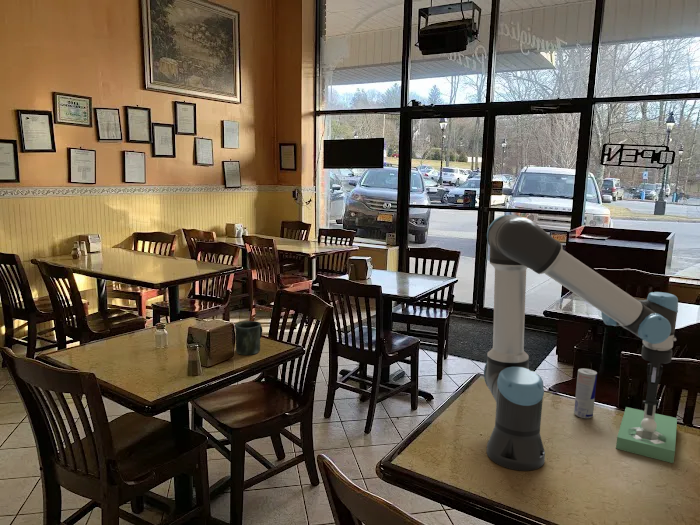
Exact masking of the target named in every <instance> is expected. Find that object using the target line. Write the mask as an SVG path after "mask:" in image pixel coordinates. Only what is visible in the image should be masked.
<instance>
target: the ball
mask: <svg viewBox="0 0 700 525" xmlns="http://www.w3.org/2000/svg"><path fill="white" fill-rule="evenodd" d="M641 427H642V428H643V430H645V431H646V432H653V431H655V430H656V428H657V424H656V422H655V421H654V420H653V419H651V418H645V419H643V420H642V421H641Z"/></svg>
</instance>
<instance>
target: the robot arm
mask: <svg viewBox="0 0 700 525" xmlns="http://www.w3.org/2000/svg"><path fill="white" fill-rule="evenodd" d="M486 240H487V243H488V246H489V264H490V265H491V266H492V267H493V268H494V288H493V289H494V290H493V292H494V294H493V330H492V331H493V332H492V334H493V335H492V348H491V349H490V350H489V351H487V353H486V354H487V356H486V357H487V358H486V363H485V365H484V368H483V379H484V382H485V385H486V387H487V388H488V390H489V391H490V393H491V395H492V397H493V399H494V400H495V404H496V405H495V406H496V408H495V421H494V422H495V423H494V428H493V430H491V431H492V432H491V435H490V436H489V439H488V440H487V443H486V454H487V457H488V458H489V459H490V460H491V461H492V462H494V463H495V464H497V465H499V466H501V467H504V468H506V469H510V470H514V471H527V472H528V471H533V470H534V471H535V470H537V469H539V468H541V467H543V466H544V464H545V459H546V452H545V448H544V444H543V441H542V436H541V423H542V411H543V400H544V395H545V387H544V381H543V379H542V376H540V375H539V374H538V373H537V372H535V371H534V370H531V369H529V367H530V366H529V363H530V362H529V361H530V360H529V359H530V358H529V357H530V355H529V354H528V353H527V352H526V351H525V350H524V346H525V322H526V321H525V319H526V318H525V317H526V316H525V314H526V289H527V270H528V269H529V270H532V271H533V272H535V273H536V274H537V275H542V274H545V275H546V276H548V277H549V278H551V279H552V280H553V281H555V282H557V284H559V285H561V286H562V287H564V288H566V289H567V290H569V291H570V292H571V293H573V294H575V295H576V296H577V297H579V298H580V299H582V300H583V301H585V302H586V303H588V304H589V305H590V306H592V307H594V308H595V309H596V310H599V311H600V312H601V313H600V314H601V319H602V321H603V323H604V324H605V325H606V326H614V327H619V326H620V327H622V328H623V329H625V330H627V331H629V332H630V333H632V334H633V335H635V336H636V337H638V338H640V339H641V340H642V346H641V354H640V356H641V358H642V359H643V360H645V361H646V362H649V363H647V366H646V373H647V374H646V382H647V389H646V395H645V396H646V397H645V400H644V399H643V401H642V403H643V404H644V410H643V411H644V419H645V418H651V419H653V420H654V418H655V413H656V407H657V404H659V402H660V400H659V399H657V398H658V395H657V394H658V388H659V387H658V385H659V384H660V383H661V377H662V375H663V372H664V370H663V369H664V366H663V364H664V365H665V364H669V363H671V362H672V360H673V359H672V358H673V349H672V348H673V347H674V342H676V341H677V337H675V332H676V326H677V325H676V323H677V318H678V313H679V299H678V297H677V296H676V295H675V294H672V293H669V292H662V291H654V292H653V291H651V292H649V293H648V295H647V297H646V299H637V298H636V297H635V298H634V297H633V296H632V295H630V294H629V293H628V292H626V291H624V290H623V289H621V288H620V287H618V285H616V284H614V283H613V282H611V281H610V280H609V279H607V278H606V277H604V276H603V275H601V274H600V273H598V272H597V271H595V270H594V269H592V268H591V267H589V266H588V265H586V264H585V263H583V262H582V261H580V260H579V259H577V258H576V257H574V256H573V255H572V254H570V253H568V252H567V251H566V250H565V249H564V248H563V244H562V243H561V242H560V241H558V240H556V239H555V238H554V237H552V236H551V235H550V233H548V232H547V231H545V230H544V229H543V228H542V227H541V226H539V225H538V224H537V223H536V222H535V221H533V220H531V219H529V218H527V217H522V216H521V215H519V214H511V213H510V214H503V215H501V216H498V217H497V218H495V219H494V220H493V221H492V222H491V223H490V225H489V226H488V228H487V232H486Z"/></svg>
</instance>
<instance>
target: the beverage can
mask: <svg viewBox="0 0 700 525" xmlns="http://www.w3.org/2000/svg"><path fill="white" fill-rule="evenodd" d="M597 380H598V372H597V371H596V370H593V369H590V368H578V370H577V377H576V388H575V396H574V397H575V399H574V409H573V410H574V411H573V414H575V415H576V417H579V418H581V419H591V418H593V417H594V407H595V399H596V398H595V397H596V389H597V388H596V387H597Z"/></svg>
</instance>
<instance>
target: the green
mask: <svg viewBox="0 0 700 525" xmlns="http://www.w3.org/2000/svg"><path fill="white" fill-rule="evenodd" d="M643 419H644V410H643V409H638V408H632V407H628V406H625V410H624V413H623V416H622V419H621V422H620V426H619V430H618V432H617V437H616V446H615V449H616V450H621V451H625V452H626V453H627V452H628V453H632V454H635V455H640V456H643V457H646V458H647V457H648V458H650V459H651V458H652V459H654V460H655V459H656V460H659V461H663V462H667V463H671V464H674V460H675V453H676V439H677V425H678V424H677V423H678V418H677V417H673V416H670V415H664V414H659V413H656V412H655V418H654V421H655V422H656V424H657V428H656V430H655V431H653V432H646V431H645V430H643V428H642V427H641V421H642V420H643Z"/></svg>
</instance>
